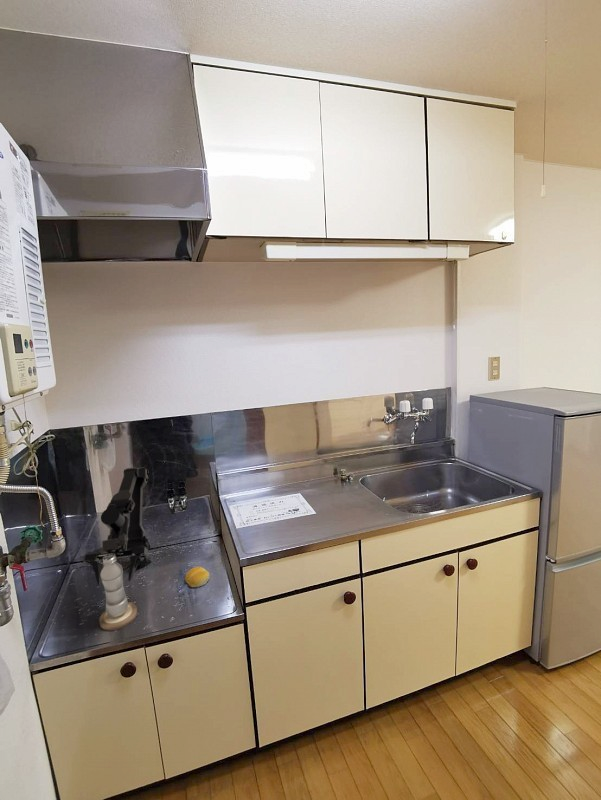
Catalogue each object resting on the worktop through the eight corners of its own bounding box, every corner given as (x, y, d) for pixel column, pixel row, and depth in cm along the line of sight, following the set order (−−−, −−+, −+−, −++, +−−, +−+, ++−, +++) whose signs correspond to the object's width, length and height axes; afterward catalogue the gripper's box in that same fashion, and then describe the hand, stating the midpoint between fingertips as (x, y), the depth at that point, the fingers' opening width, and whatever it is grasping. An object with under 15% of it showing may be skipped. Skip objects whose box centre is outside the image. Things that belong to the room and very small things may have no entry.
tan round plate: (94, 619, 126) (93, 615, 126) (127, 600, 134) (126, 596, 134) (109, 636, 119) (108, 631, 119) (143, 614, 127) (142, 610, 127)
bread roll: (193, 591, 137) (192, 581, 136) (182, 580, 144) (181, 570, 143) (214, 580, 142) (213, 570, 142) (202, 570, 149) (201, 560, 148)
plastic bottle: (103, 621, 123) (93, 564, 119) (112, 606, 129) (102, 551, 126) (124, 619, 123) (115, 562, 119) (132, 604, 130) (123, 549, 126)
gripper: (80, 530, 125) (72, 583, 117) (141, 522, 128) (138, 573, 120) (92, 540, 134) (86, 589, 126) (149, 532, 137) (147, 580, 129)
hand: (114, 583), depth 125 cm, fingers open, 9 cm apart
